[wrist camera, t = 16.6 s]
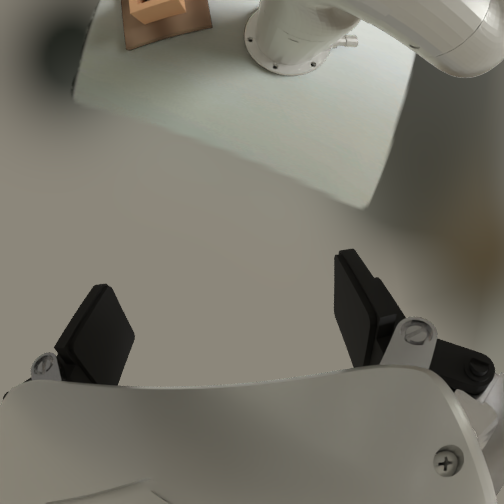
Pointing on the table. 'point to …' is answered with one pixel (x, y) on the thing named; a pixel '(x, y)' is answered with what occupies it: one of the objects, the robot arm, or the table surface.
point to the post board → (165, 24)
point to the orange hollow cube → (155, 9)
